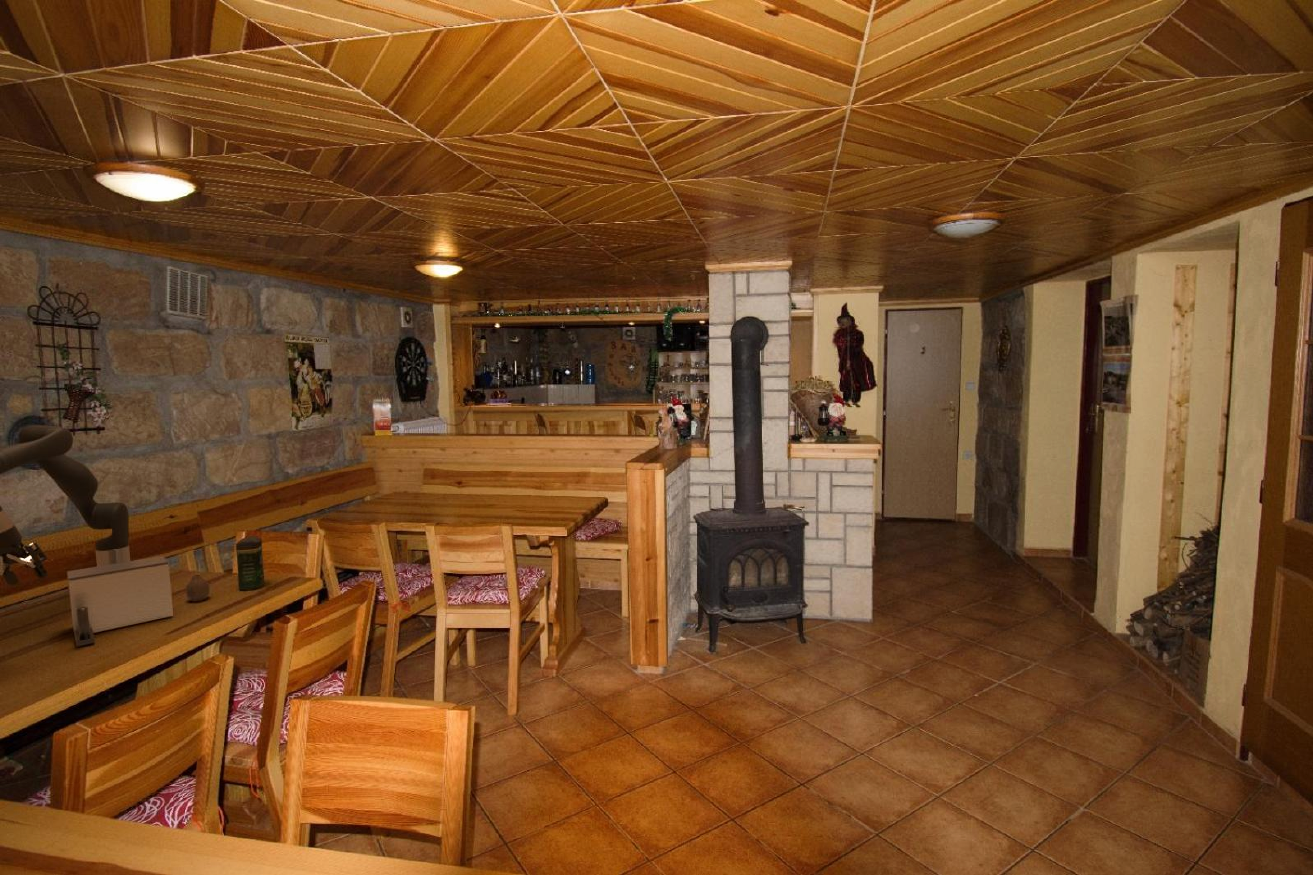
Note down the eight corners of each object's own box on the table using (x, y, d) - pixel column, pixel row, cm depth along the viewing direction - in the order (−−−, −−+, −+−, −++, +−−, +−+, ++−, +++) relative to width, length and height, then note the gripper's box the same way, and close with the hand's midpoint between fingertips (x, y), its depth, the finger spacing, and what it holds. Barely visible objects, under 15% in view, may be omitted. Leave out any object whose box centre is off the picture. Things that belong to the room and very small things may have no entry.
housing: (73, 627, 205) (67, 571, 203) (167, 607, 222) (163, 555, 220) (74, 636, 198) (68, 578, 196) (172, 615, 215) (167, 561, 213)
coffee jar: (261, 589, 240) (258, 539, 238) (236, 592, 237) (232, 541, 235) (267, 581, 249) (263, 533, 247) (242, 584, 246) (239, 535, 245)
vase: (192, 604, 225) (190, 579, 224) (182, 601, 228) (180, 576, 227) (214, 598, 231) (212, 574, 230) (204, 595, 234) (202, 571, 233)
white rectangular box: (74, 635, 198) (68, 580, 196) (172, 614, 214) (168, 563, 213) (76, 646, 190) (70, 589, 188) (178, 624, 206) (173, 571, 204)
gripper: (32, 518, 181) (64, 567, 186) (-16, 529, 181) (17, 578, 187) (8, 531, 174) (42, 582, 179) (-42, 543, 174) (-7, 593, 180)
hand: (29, 580), depth 183 cm, fingers open, 8 cm apart
